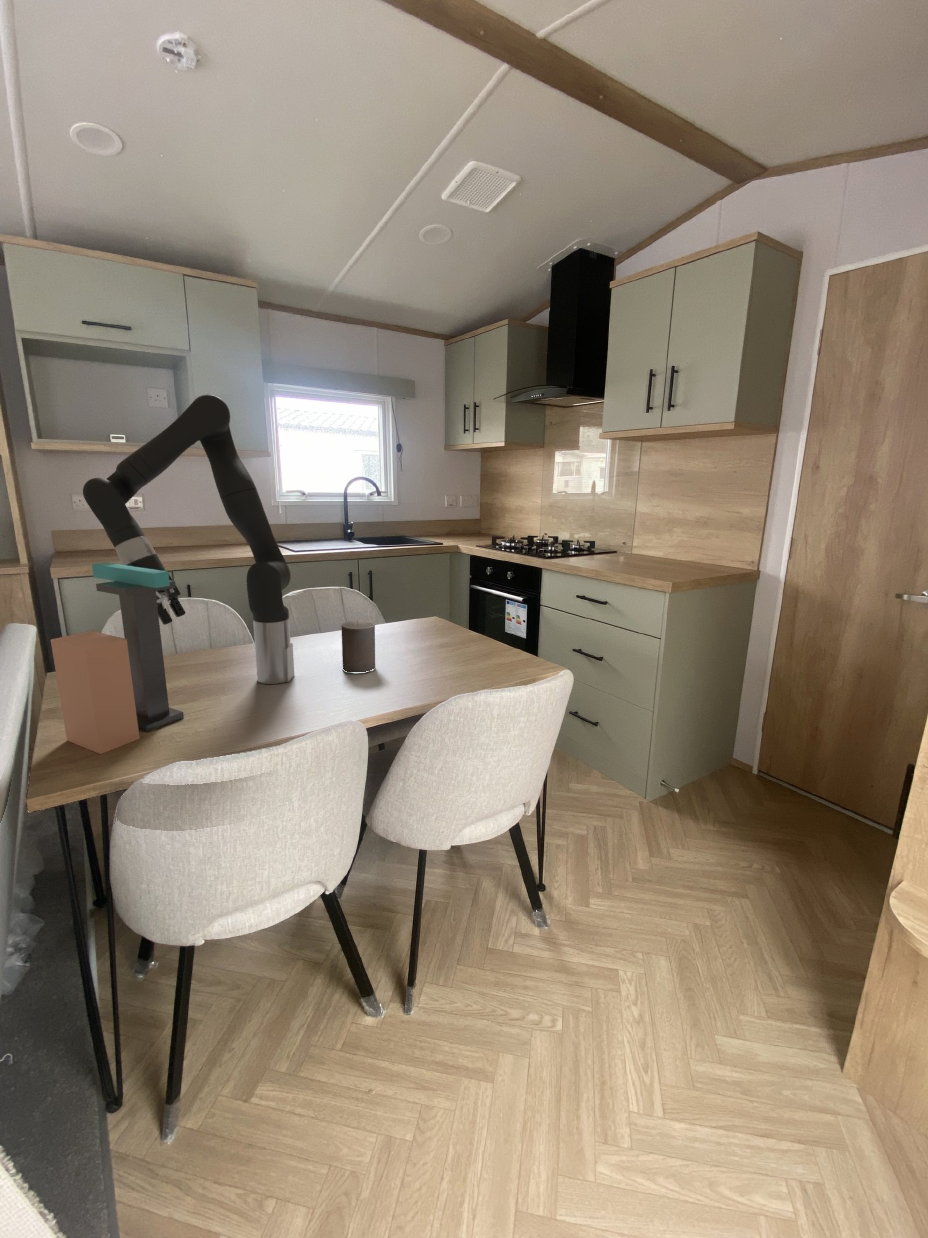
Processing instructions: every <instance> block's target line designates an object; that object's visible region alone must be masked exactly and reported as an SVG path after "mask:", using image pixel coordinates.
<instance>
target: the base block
mask: <svg viewBox="0 0 928 1238" xmlns="http://www.w3.org/2000/svg"><path fill="white" fill-rule="evenodd" d="M50 644H51V651H52V657H53V662H54V663H53V664H54V668H55V675H56V681H57V688H58V693H59V700H60V707H61V711H62V719H63V723H64V730H65V735H66V736H65V737H66V741H67V742H70V743H73V744H74V745H77V746H80V747H81V748H85V749H87V750H89V751H92V752H94V753H96V754H99V755H102V754H105V753H107V752H109V751H112V750H115V749H117V748H120V747H123V746H125V745H128V744H131V743H132V742H134V741H137V740H140V733H139V732H140V730H138V723H137V715H136V707H135V700H134V692H133V684H132V677H131V669H130V661H129V653H128V646H127V639H125V637H124V638H123V637H120V636H116V635H113V634H112V635H111V634H107V633H105V632H104V633H103V632H100V631H95V630H90V631H85V632H79V633H76V634H70V635H66V636H62V637H61V636H60V637H57V638H52V639H50Z"/></svg>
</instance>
